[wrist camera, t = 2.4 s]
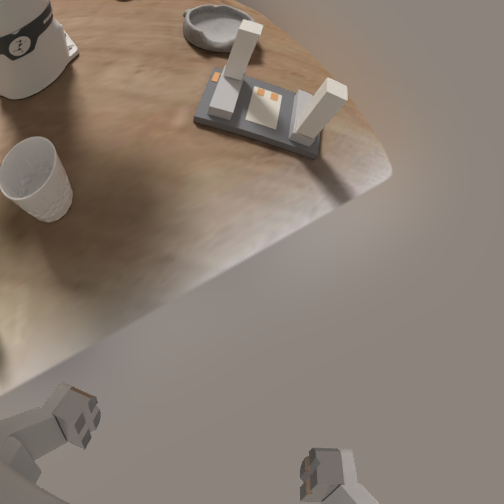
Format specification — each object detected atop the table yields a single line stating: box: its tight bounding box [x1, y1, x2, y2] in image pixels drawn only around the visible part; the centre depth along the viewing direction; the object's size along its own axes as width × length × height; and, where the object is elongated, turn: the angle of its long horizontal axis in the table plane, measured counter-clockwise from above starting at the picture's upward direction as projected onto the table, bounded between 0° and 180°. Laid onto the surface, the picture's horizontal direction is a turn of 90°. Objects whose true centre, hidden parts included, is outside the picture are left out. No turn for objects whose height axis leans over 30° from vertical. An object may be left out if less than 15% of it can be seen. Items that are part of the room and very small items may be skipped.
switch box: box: [193, 65, 320, 160], centre depth 44 cm, size 12×20×4 cm, turn 79°
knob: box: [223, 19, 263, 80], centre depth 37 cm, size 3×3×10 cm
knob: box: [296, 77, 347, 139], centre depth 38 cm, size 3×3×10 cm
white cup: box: [0, 136, 73, 223], centre depth 29 cm, size 8×8×10 cm
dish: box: [183, 4, 255, 53], centre depth 46 cm, size 14×14×5 cm
